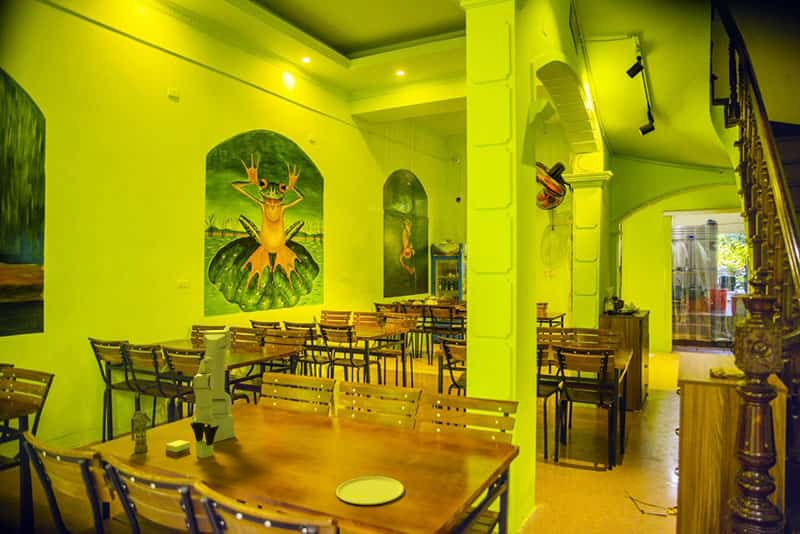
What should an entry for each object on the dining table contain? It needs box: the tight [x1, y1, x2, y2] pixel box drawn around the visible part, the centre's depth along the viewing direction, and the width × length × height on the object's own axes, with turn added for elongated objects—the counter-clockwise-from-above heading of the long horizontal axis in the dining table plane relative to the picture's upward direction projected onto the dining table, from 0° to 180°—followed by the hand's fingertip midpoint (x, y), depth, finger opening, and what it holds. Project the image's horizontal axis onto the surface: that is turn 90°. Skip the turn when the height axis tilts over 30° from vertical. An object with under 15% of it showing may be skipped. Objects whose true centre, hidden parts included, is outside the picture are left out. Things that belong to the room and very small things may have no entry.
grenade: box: [130, 410, 152, 454], centre depth 209 cm, size 7×7×15 cm
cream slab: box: [165, 439, 191, 452], centre depth 206 cm, size 6×6×2 cm
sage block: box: [195, 439, 215, 459], centre depth 202 cm, size 4×4×5 cm
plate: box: [335, 475, 405, 506], centre depth 166 cm, size 21×21×1 cm
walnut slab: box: [165, 447, 191, 457], centre depth 206 cm, size 6×6×2 cm
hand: (204, 443), depth 202 cm, fingers open, 7 cm apart
